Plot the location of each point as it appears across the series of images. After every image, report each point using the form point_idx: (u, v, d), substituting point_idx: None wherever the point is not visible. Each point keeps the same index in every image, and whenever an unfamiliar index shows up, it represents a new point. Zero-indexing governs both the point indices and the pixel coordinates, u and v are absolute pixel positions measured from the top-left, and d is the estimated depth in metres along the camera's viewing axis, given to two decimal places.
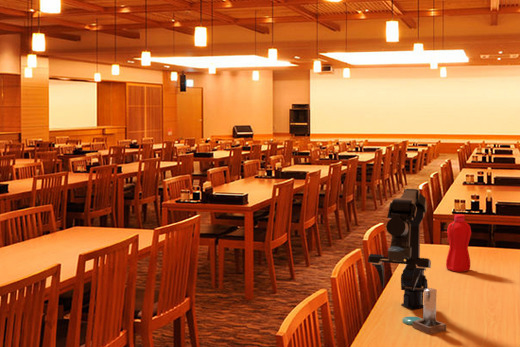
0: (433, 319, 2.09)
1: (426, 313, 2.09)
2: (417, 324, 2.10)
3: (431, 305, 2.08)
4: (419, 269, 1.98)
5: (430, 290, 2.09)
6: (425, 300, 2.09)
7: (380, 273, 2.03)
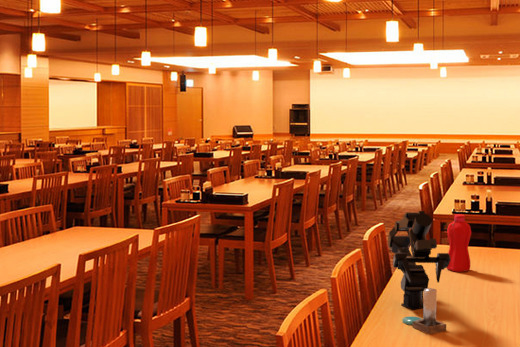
0: (433, 319, 2.09)
1: (426, 313, 2.09)
2: (417, 324, 2.10)
3: (431, 305, 2.08)
4: (443, 261, 2.19)
5: (430, 290, 2.09)
6: (425, 300, 2.09)
7: (407, 268, 2.20)
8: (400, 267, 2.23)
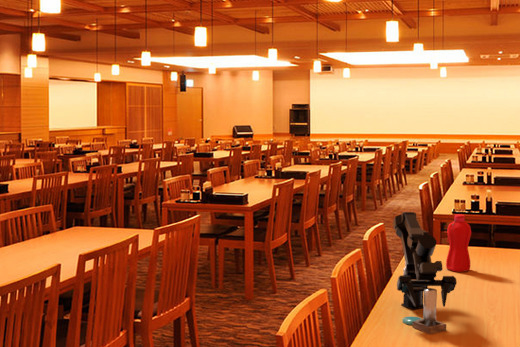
0: (433, 319, 2.09)
1: (426, 313, 2.09)
2: (417, 324, 2.10)
3: (431, 305, 2.08)
4: (449, 284, 2.12)
5: (430, 290, 2.09)
6: (425, 300, 2.09)
7: (412, 292, 2.12)
8: (404, 290, 2.16)
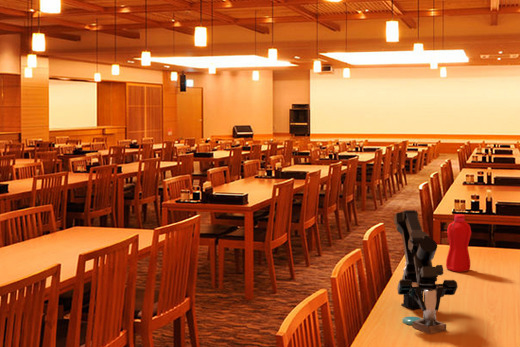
0: (433, 319, 2.09)
1: (426, 313, 2.09)
2: (417, 324, 2.10)
3: (431, 306, 2.08)
4: (442, 288, 2.11)
5: (430, 290, 2.09)
6: (425, 300, 2.09)
7: (420, 296, 2.11)
8: (412, 294, 2.14)
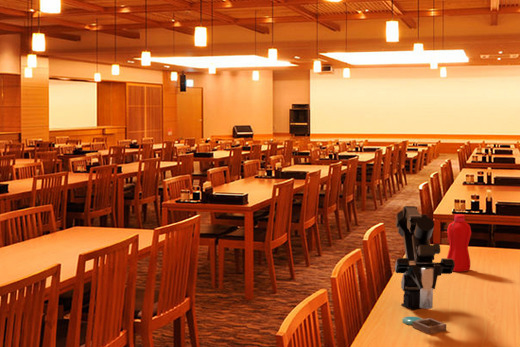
0: (430, 297, 2.09)
1: (422, 291, 2.10)
2: (417, 324, 2.10)
3: (427, 284, 2.09)
4: (439, 266, 2.11)
5: (427, 268, 2.09)
6: (422, 278, 2.10)
7: (417, 274, 2.11)
8: (410, 273, 2.15)
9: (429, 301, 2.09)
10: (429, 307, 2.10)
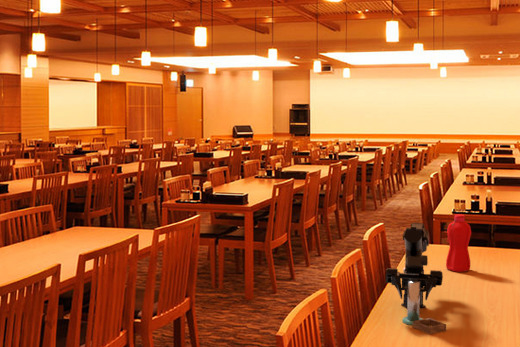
0: (416, 310, 2.15)
1: (409, 304, 2.16)
2: (417, 324, 2.10)
3: (413, 297, 2.15)
4: (432, 278, 2.16)
5: (413, 282, 2.16)
6: (408, 291, 2.16)
7: (399, 285, 2.18)
8: (394, 283, 2.22)
9: (415, 314, 2.16)
10: (415, 320, 2.16)
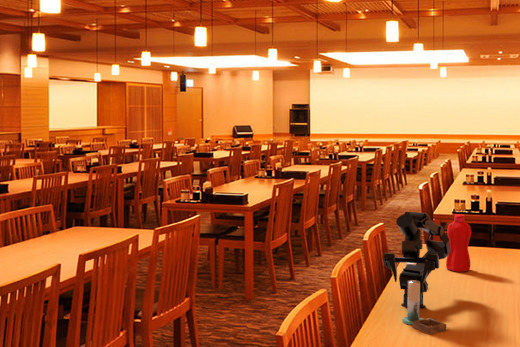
0: (416, 310, 2.15)
1: (409, 304, 2.16)
2: (417, 324, 2.10)
3: (413, 297, 2.15)
4: (429, 262, 2.20)
5: (413, 282, 2.16)
6: (408, 291, 2.16)
7: (393, 268, 2.24)
8: (390, 267, 2.28)
9: (415, 314, 2.16)
10: (415, 320, 2.16)
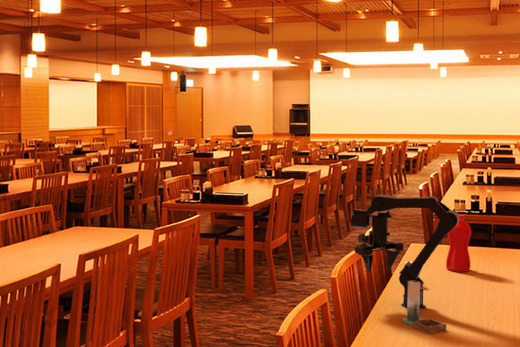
0: (416, 310, 2.15)
1: (409, 304, 2.16)
2: (417, 324, 2.10)
3: (413, 297, 2.15)
4: None
5: (413, 282, 2.16)
6: (408, 291, 2.16)
7: None
8: None
9: (415, 314, 2.16)
10: (415, 320, 2.16)
